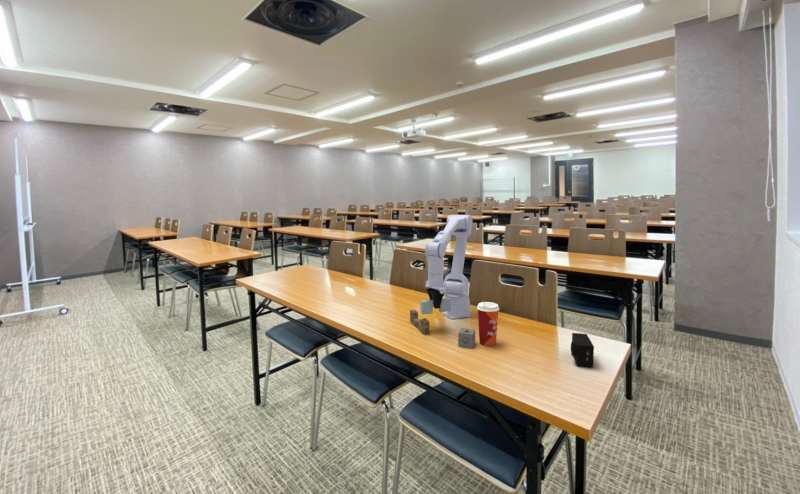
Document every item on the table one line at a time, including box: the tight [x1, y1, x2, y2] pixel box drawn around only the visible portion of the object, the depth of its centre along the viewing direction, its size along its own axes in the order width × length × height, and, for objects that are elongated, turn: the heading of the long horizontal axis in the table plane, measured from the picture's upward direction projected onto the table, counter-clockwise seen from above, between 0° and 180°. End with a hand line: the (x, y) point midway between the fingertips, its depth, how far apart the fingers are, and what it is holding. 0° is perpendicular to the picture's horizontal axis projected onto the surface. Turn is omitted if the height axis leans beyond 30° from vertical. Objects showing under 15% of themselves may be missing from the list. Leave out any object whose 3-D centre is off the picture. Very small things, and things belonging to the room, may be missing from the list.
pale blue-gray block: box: [419, 297, 451, 316], centre depth 141 cm, size 12×2×5 cm, turn 109°
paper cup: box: [476, 301, 500, 347], centre depth 128 cm, size 8×8×14 cm
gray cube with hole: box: [457, 327, 476, 349], centre depth 127 cm, size 5×5×5 cm
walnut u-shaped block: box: [409, 309, 430, 336], centre depth 145 cm, size 16×2×5 cm, turn 18°
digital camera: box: [570, 332, 595, 369], centre depth 113 cm, size 10×5×7 cm, turn 164°
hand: (435, 307), depth 142 cm, fingers closed on pale blue-gray block, 2 cm apart
